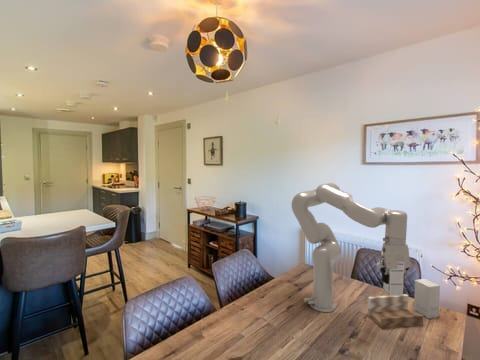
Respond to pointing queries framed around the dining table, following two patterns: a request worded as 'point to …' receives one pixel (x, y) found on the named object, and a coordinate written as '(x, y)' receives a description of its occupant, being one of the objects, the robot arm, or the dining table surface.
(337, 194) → the robot arm
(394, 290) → the syrup box
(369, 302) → the cleat board
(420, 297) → the skincare box
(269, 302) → the dining table surface
